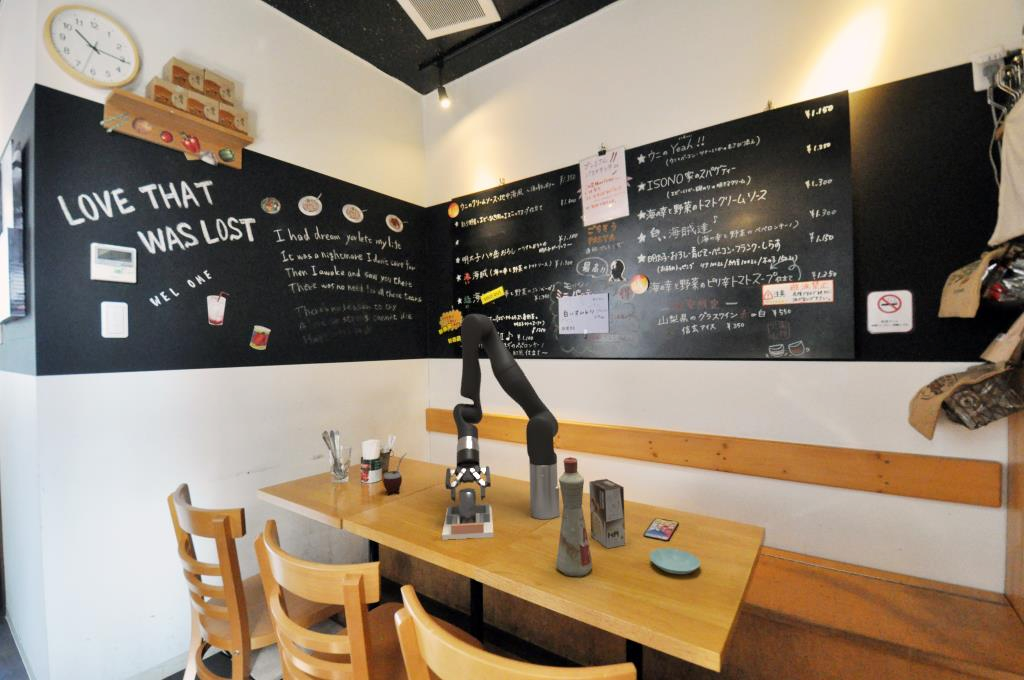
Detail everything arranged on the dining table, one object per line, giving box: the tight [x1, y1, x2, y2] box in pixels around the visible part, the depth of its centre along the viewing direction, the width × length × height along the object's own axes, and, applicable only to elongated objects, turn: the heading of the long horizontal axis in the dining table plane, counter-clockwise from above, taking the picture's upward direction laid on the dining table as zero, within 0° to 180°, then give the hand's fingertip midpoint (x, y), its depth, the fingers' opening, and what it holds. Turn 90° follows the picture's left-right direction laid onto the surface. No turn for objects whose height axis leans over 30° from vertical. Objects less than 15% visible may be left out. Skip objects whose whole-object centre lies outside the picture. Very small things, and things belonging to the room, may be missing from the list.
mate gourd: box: [382, 452, 407, 496], centre depth 173 cm, size 8×8×15 cm
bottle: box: [555, 456, 593, 577], centre depth 111 cm, size 9×9×28 cm
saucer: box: [649, 547, 701, 575], centre depth 110 cm, size 12×12×2 cm
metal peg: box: [458, 488, 477, 524], centre depth 134 cm, size 5×5×11 cm
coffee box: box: [588, 478, 626, 549], centre depth 126 cm, size 9×6×16 cm
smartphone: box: [643, 517, 680, 543], centre depth 133 cm, size 7×1×15 cm
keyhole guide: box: [441, 503, 494, 541], centre depth 140 cm, size 15×22×4 cm
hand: (468, 499), depth 135 cm, fingers open, 8 cm apart
